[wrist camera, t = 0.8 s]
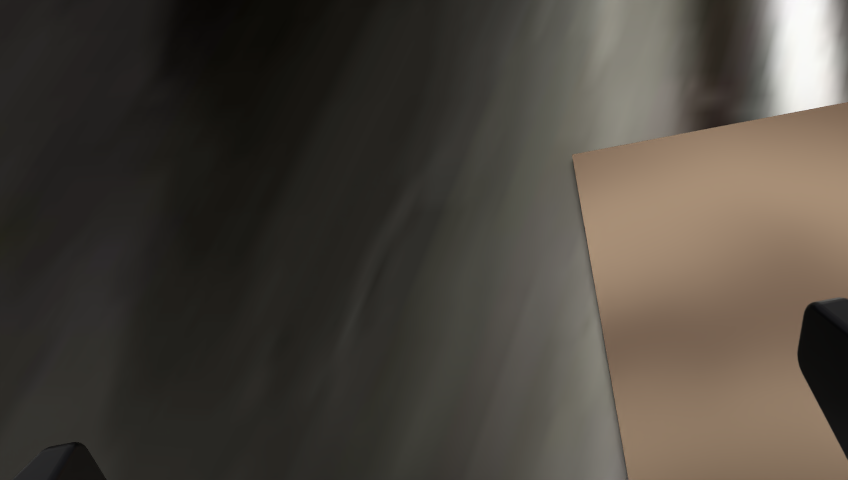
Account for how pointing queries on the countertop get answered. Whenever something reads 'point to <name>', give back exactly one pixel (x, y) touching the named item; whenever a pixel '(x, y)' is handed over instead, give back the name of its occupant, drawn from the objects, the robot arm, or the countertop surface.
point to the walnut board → (719, 292)
